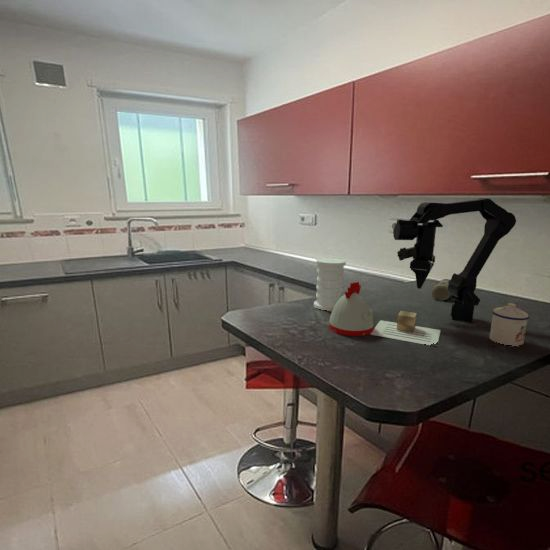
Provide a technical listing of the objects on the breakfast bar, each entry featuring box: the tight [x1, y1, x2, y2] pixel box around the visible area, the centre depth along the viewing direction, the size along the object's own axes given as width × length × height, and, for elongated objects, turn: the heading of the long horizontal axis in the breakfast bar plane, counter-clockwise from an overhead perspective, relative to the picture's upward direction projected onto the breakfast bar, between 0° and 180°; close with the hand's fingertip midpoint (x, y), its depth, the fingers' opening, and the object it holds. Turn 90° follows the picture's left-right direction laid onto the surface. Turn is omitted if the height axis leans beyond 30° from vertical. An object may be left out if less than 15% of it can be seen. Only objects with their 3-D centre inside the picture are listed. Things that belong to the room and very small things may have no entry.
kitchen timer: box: [328, 281, 374, 337], centre depth 116 cm, size 14×14×15 cm
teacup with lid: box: [489, 302, 530, 347], centre depth 109 cm, size 12×9×12 cm
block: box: [396, 310, 418, 333], centre depth 117 cm, size 5×5×5 cm
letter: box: [369, 319, 442, 346], centre depth 115 cm, size 19×15×1 cm
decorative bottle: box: [431, 278, 451, 302], centre depth 161 cm, size 26×8×7 cm, turn 147°
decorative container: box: [313, 257, 347, 312], centre depth 139 cm, size 12×12×18 cm
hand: (420, 285), depth 125 cm, fingers open, 9 cm apart
